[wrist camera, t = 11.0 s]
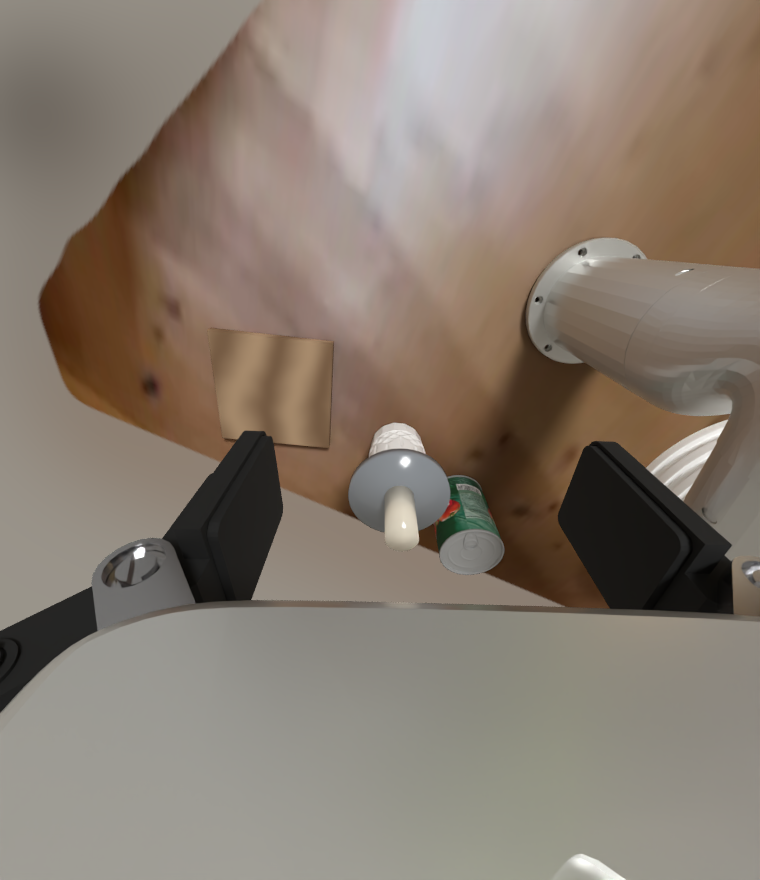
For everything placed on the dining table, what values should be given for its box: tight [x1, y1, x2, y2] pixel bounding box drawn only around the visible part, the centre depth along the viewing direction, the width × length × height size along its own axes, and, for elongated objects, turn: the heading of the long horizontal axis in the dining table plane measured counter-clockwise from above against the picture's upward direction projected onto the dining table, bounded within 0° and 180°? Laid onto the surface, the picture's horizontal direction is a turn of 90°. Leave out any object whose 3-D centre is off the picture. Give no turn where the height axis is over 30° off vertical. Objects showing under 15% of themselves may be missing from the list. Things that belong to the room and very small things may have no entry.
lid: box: [348, 448, 450, 551], centre depth 35 cm, size 11×11×7 cm
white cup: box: [369, 423, 426, 457], centre depth 43 cm, size 8×8×10 cm
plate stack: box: [646, 420, 728, 501], centre depth 46 cm, size 28×28×12 cm
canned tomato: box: [434, 475, 505, 575], centre depth 47 cm, size 8×8×11 cm
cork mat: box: [207, 328, 334, 448], centre depth 43 cm, size 14×14×1 cm
